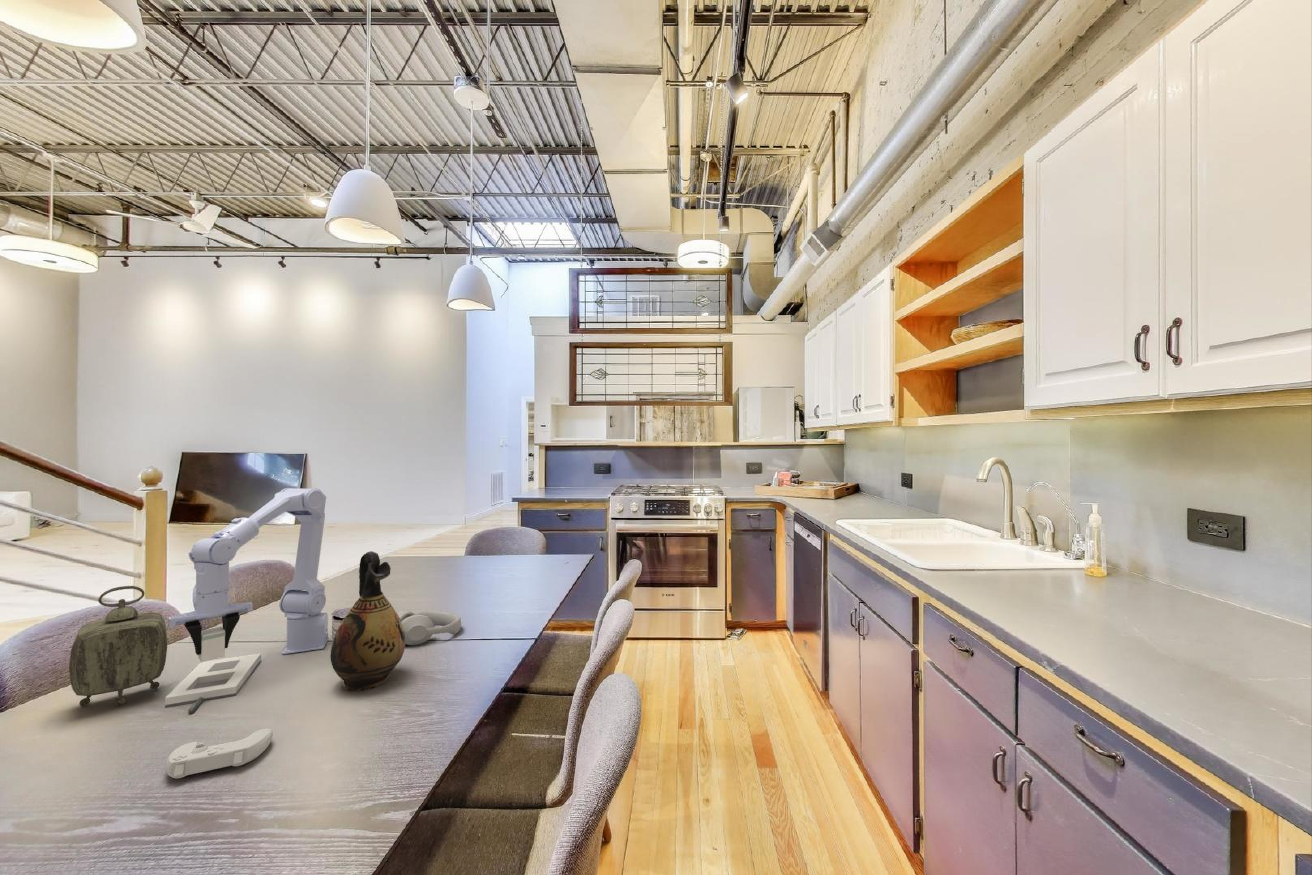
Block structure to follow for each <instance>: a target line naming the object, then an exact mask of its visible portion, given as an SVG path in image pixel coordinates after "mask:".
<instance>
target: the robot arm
mask: <svg viewBox="0 0 1312 875" xmlns="http://www.w3.org/2000/svg"><path fill="white" fill-rule="evenodd" d="M326 500H327V496H326V495H325V493H324V492H323V491H322V490H321V489H319V488H317V487H315V488H292V487H286V488H283V489H282V490H280V491H279V492H276V493H275V494H274V496H273V498H272V499H271V500H270V501H269V502H267V503H266V504H265V505H262V507H261V508H259V509H258V510H257V511H255V512H254V513H252V514H251V515H249V517H244V516H243V517H239V518H234V519H232V520H231V521H230V522H231V523H230V524H228V525H226V526H225V527H224V528H222V529H221V530H219V531H218V530H217V531H215V532H213V535H211V536H210V537H206V538H205V537H204V538H202V539H199V540H198V541H197V542H196V543H195V544H194V545H192V548H191V550H190V552H188V557H189V560H190V561H191V562H192V563H193V566H194V568H193V570H195V610H194V611H190V612H185V613H181V614H179V615H174V616H169V617H168V618H167V619H168V620H167V626H168V628H170V629H172V628H175V627H177V626H182V625H183V626H184V627H185V629H186V631H187V632H188V633H189V636H190V639H191V640H192V643H193V646H194V650H195V652H194V653H195V655H197V656H198V655H200V654H201V631H203V626H202V625H201V624H202V623H201V622H202V621H206V620H211V619H217V618H221V620H222V621H221V622H222V628H223V629H224V630H225V649H228V648H229V643H230V640H231V637H232V633H233V631H234V629H235V628H236V626H237V624H238V623H239V621H240V617H241V616H240V614H242V613H243V614H244V613H250V612H253V611H254V603H253V602H251V601H247V602H240V603H234V604H233V603H232V604H229V603H230V602H229V601H230V599H229V598H230V597H229V596H230V594H229V593H230V592H229V591H230V587H229V586H230V585H229V584H230V562H231V561H233V559H234V558H235V557H236V555H237V552H238V551H239V550H240V548H241V547H242V546H244V545H245V544H247V543H248V542H250V541H251V540H252V539H254V538H255V537H257V536H258V535H259V533H260V528H261V527H263V526H265V525H266V524H268V523H270V522H271V521H273V520H275V519H276V518H278V517H279V516H281V515H283V514H284V513H287V514H290V515H292V516H294V517H295V518H296V519H297V520H298V521H299V522H300V529H299V536H298V542H297V549H296V550H297V551H296V556H295V557H296V558H295V564H294V571H293V572H294V573H293V578H292V580H291V581H290V582H288V584H286V585H285V586H284V590H283V592H282V593H283V594H282V595H281V598H279V599H280V600H279V604H278V606H279V609H280V611H281V612H282V613H284V617H286V646H285V647H284V649H283V651H282V652H281V654H282V655H288V654H295V653H297V654H298V653H303V652H310V651H316V650H322V649H324V648H325V647H326V645H327V642H328V640H329V614H328V612H322V611H323V609H324V608H325V607H326V606H325V605H326V602H327V597H326V596H327V595H326V592H325V591H326V590H325V589H326V585H324V584H323V583H322V582H321V581H320V580H319V579H318V575H319V574H318V573H319V564H320V558H321V550H322V542H323V535H324V526H325V520H326V518H325V517H326V515H325V514H326V513H325V512H326V511H325V509H326V503H327V502H326Z"/></svg>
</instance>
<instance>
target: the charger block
mask: <svg viewBox="0 0 1312 875" xmlns="http://www.w3.org/2000/svg"><path fill="white" fill-rule="evenodd" d="M225 649H226V648H225V630H224V629H223V626H217V627H214V628H208V629H202V631H201V654H200V655H197V657H198V660H199V661H200V663H201V662H205V661H211V660H218V659H222V658H226V657H225V656H226V655H225V654H226V652H225Z"/></svg>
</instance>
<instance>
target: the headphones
mask: <svg viewBox="0 0 1312 875" xmlns="http://www.w3.org/2000/svg"><path fill="white" fill-rule="evenodd" d="M396 613H397V614H398V616H399V617H400V620H401V623H402V625H403V629H404V632H405V634H404V636H405V645H407V646H408V645H409V646H417V645H421V644H423V643H426V642H427V641H428V640H429V639H431V637H432V636H433V635H439V634H450V635H457V634H458V632H459V631H460V630H461V626H462V621H461V620H462V618H461V617H460V616H459V615H457V614H454V613H451V612H448V611H447V612H446V611H441V610H438V611H437V610H423V611H418V612H416V613H414V612H413V611H410V610H409V611H408V610H399V611H397V612H396Z"/></svg>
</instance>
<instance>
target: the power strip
mask: <svg viewBox="0 0 1312 875" xmlns="http://www.w3.org/2000/svg"><path fill="white" fill-rule="evenodd" d="M261 662H262V653H254V654H248V655H247V654H245V655H240V656H234V657H227V658H226V657H224V658H217V659H213V660H209V661H205V662H201V661H200V663H198V665H196V667H195V668H194V669H193V670H192V671H191V672H189V674H188V675H187V676H186V677H184V679H182V680H181V681H180V683H179V684H177V685H176V686H175V687H174V688H173V690H172V691H170V692H169V694H168V695H166V696H165V698H164V699H165V700H164V701H165V703H164V708H169V707H176V706H181V705H187V704H192V706H191V707H189V709H188V710H187V713H188V714H193V713H194V712H195V711H196V710H197V709H198V708H199V706H201V704H203V703H202V702H205V701H206V702H207V701H211V700H216V699H217V700H218V699H223V698H228V697H234V696H237V695H238V693H239V692H240V690H241V689H242V688H243V687H244V685H245V684H246V683H247V681H248V680H249V678H250V676H252V674H253V673H254V672H255V670H256V669H257V667H258V666H259V665H260V663H261Z"/></svg>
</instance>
